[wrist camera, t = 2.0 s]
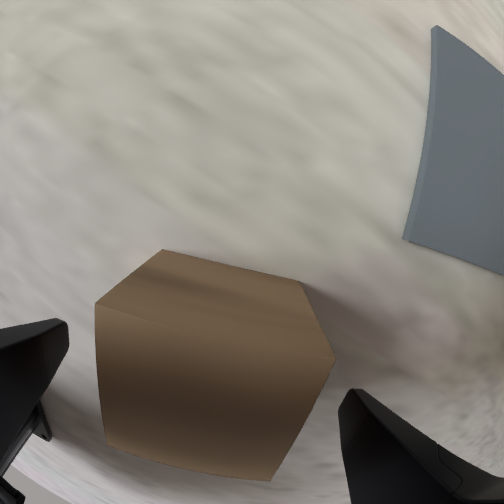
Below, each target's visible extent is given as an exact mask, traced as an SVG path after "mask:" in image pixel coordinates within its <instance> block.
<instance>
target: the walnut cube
mask: <svg viewBox="0 0 504 504" xmlns="http://www.w3.org/2000/svg"><path fill="white" fill-rule="evenodd" d="M95 347H96V364H97V377H98V388H99V397H100V405H101V412H102V419H103V425H104V431H105V437H106V442H107V445H108V446H111V447H114V448H116V449H119V450H122V451H125V452H127V453H130V454H133V455H136V456H139V457H143V458H146V459H149V460H152V461H156V462H159V463H163V464H167V465H171V466H175V467H179V468H183V469H188V470H192V471H197V472H202V473H207V474H213V475H219V476H225V477H232V478H240V479H249V480H260V481H270V480H271V479H272V477H273V475H274V474H275V472H276V471H277V469H278V468H279V466H280V464H281V463H282V461H283V460H284V458H285V456H286V455H287V453H288V451H289V450H290V448H291V446H292V444H293V443H294V441H295V439H296V438H297V436H298V434H299V432H300V430H301V429H302V427H303V425H304V423H305V421H306V419H307V418H308V416H309V414H310V412H311V410H312V408H313V406H314V404H315V402H316V400H317V398H318V396H319V394H320V392H321V390H322V388H323V386H324V384H325V382H326V380H327V378H328V375H329V373H330V371H331V369H332V367H333V365H334V362H335V360H336V357H335V355H334V353H333V351H332V349H331V347H330V344H329V342H328V340H327V338H326V336H325V334H324V332H323V330H322V327H321V325H320V323H319V321H318V319H317V317H316V315H315V313H314V311H313V309H312V307H311V304H310V302H309V300H308V298H307V296H306V294H305V292H304V290H303V288H302V286H301V284H300V282H299V281H296V280H292V279H287V278H283V277H278V276H274V275H270V274H265V273H261V272H256V271H252V270H248V269H243V268H239V267H235V266H230V265H226V264H222V263H218V262H213V261H209V260H205V259H201V258H196V257H192V256H188V255H184V254H180V253H176V252H172V251H167V250H163V249H162V250H161V251H159V252H158V253H157V254H155V255H154V256H153V257H151V258H150V259H149V260H148V261H146V262H145V263H144V264H143V265H141V266H140V267H139V268H137V269H136V270H135V271H134V272H132V273H131V274H130V275H129V276H127V277H126V278H125V279H124V280H122V281H121V282H120V283H119V284H117V285H116V286H115V287H114V288H113V289H111V290H110V291H109V292H108V293H106V294H105V295H104V296H103V297H102V298H100V299H99V300H98V301H97V302H96V303H95Z"/></svg>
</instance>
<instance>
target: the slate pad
mask: <svg viewBox="0 0 504 504" xmlns="http://www.w3.org/2000/svg"><path fill="white" fill-rule="evenodd" d="M431 37H432V51H431V79H430V93H429V104H428V114H427V122H426V130H425V137H424V143H423V149H422V155H421V161H420V166H419V171H418V176H417V181H416V186H415V190H414V195H413V199H412V203H411V207H410V211H409V215H408V219H407V223H406V227H405V230H404V234H403V237H402V238H403V239H405V240H408V241H410V242H413V243H416V244H419V245H422V246H425V247H428V248H431V249H434V250H437V251H440V252H443V253H445V254H448V255H451V256H454V257H457V258H459V259H462V260H465V261H467V262H470V263H473V264H475V265H478V266H481V267H483V268H486V269H488V270H491V271H494V272H496V273H499V274H501V275H504V75H503V74H502V73H501V72H500V71H498V70H497V69H496V68H495V67H494V66H493V65H491V64H490V63H489V62H488V61H487V60H485V59H484V58H483V57H482V56H480V55H479V54H478V53H477V52H475V51H474V50H473V49H471V48H470V47H469V46H467V45H466V44H465V43H463V42H462V41H460V40H459V39H457V38H456V37H455V36H453V35H452V34H450V33H449V32H447V31H445V30H444V29H442V28H441V27H439V26H438V25H436V26H435V27H433V28H432V29H431Z"/></svg>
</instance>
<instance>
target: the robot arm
mask: <svg viewBox="0 0 504 504" xmlns="http://www.w3.org/2000/svg"><path fill="white" fill-rule="evenodd" d="M68 349H69V333H68V325H67V323H66V322H65V321H63V320H60V319H58V318H54V319H49V320H44V321H39V322H34V323H29V324H24V325H18V326H13V327H8V328H3V329H0V504H24V501H25V496H24V495H23V494H22V493H21V492H20V491H18V490H16V489H15V488H13V487H12V486H11V485H10V484H9V483H8V482H7V481H6V480H5V479H4V478H3V475H4V474H5V472H6V471H7V469H8V468H9V466H10V465H11V463H12V462H13V460H14V459H15V457H16V456H17V454H18V453H19V451H20V450H21V449H22V447H23V446H24V444H25V443H26V442H27V440H28V439H29V437H30V436H31V435H32V433H34V434H35V435H37V436H39V437H40V438H42V439H44V440H46V441H48V442H49V441H50V440H51V439H52V435H51V433H50V430H49V427H48V425H47V422H46V419H45V416H44V413H43V410H42V407H41V404H40V400H39V399H40V398H41V396H42V395H43V393H44V392H45V390H46V389H47V387H48V385H49V384H50V382H51V380H52V379H53V377H54V375H55V373H56V371H57V369H58V367H59V366H60V364H61V362H62V360H63V358H64V357H65V355H66V353H67V351H68ZM338 417H339V427H340V439H341V450H342V456H343V461H344V466H345V472H346V477H347V482H348V488H349V493H350V499H351V504H504V478H501V477H496V476H494V475H491V474H489V473H487V472H485V471H484V470H482V469H480V468H478V467H476V466H474V465H472V464H470V463H468V462H466V461H465V460H463V459H461V458H459V457H458V456H456V455H454V454H453V453H451V452H450V451H448V450H447V449H445V448H444V447H442V446H441V445H439V444H437V443H436V442H435V441H433V440H432V439H430V438H429V437H428V436H426V435H425V434H423V433H422V432H420V431H419V430H418V429H416V428H415V427H413V426H412V425H411V424H409V423H408V422H406V421H405V420H404V419H402V418H401V417H399V416H398V415H397V414H395V413H394V412H392V411H391V410H390V409H388V408H387V407H386V406H384V405H383V404H382V403H380V402H379V401H378V400H376V399H375V398H374V397H372V396H371V395H370V394H368V393H367V392H366V391H364V390H363V389H354V388H352V389H350V390H349V391H348V392H347V394H346V396H345V398H344V399H343V401H342V403H341V405H340V407H339V410H338Z"/></svg>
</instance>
